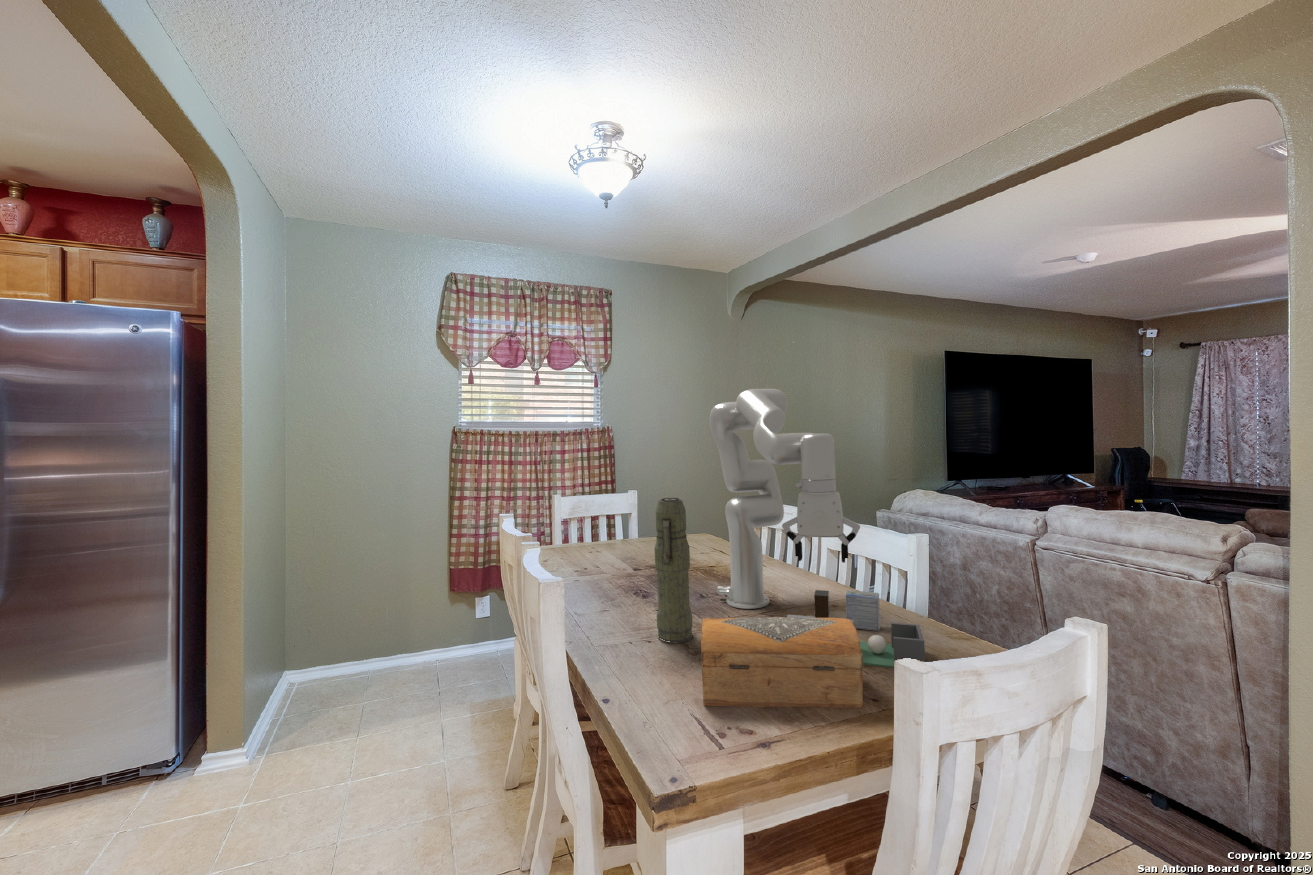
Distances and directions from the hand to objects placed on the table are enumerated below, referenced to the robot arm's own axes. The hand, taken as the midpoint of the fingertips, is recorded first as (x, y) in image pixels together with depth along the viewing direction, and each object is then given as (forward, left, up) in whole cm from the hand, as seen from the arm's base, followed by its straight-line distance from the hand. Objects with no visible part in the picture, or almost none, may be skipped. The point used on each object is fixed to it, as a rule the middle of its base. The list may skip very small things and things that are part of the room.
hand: (821, 560), depth 128 cm
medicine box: (+9, +17, -21) cm, 29 cm away
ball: (+11, 0, -19) cm, 22 cm away
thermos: (-36, -1, -21) cm, 42 cm away
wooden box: (-8, -21, -22) cm, 31 cm away
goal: (+17, 0, -21) cm, 27 cm away
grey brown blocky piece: (-1, 0, -20) cm, 20 cm away
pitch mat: (+13, 0, -21) cm, 25 cm away
